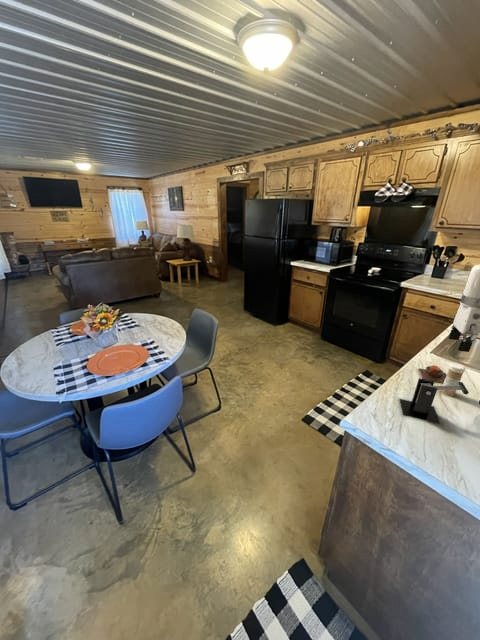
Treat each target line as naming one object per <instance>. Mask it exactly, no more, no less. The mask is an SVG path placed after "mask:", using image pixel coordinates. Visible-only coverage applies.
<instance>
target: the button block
mask: <svg viewBox="0 0 480 640" xmlns="http://www.w3.org/2000/svg"><path fill="white" fill-rule="evenodd" d="M431 366H432V365H428V366H426V367H425V369H424V368H420V367H419V368H418V372H419V374H420V375H419V376H420V377H421V379H425V380H430V381H434V383H438V384H443V383H444V381H445V378H446V376H447V373H446V372H444V370H443V369H441V368H440V370H439V373H436V372H433V371H431V370H430V368H431Z"/></svg>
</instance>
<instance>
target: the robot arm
mask: <svg viewBox="0 0 480 640" xmlns="http://www.w3.org/2000/svg"><path fill="white" fill-rule="evenodd" d="M463 289H464V290H463V292H462V295H461V297H460V300H459V304H460V305H459V306H458V309H457V311H456V314H455V315H454V319H453V322H452V326H451V330H450V332H449V335H448V339H449V340H453V341H459V340H460V337H461V335H462V339H461V340H460V342H459V345H458V348H457V351H459V352H464V353H469V352H470V351H471V348H472V346H473V344H474V343H475V341H476V340H477V338H478V337H479V335H480V264H479V263H478V264H475V265H474V266H473V267H471V270H470V274H469V276H468V278H467V281H466V284H465V287H464V288H463Z"/></svg>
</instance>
